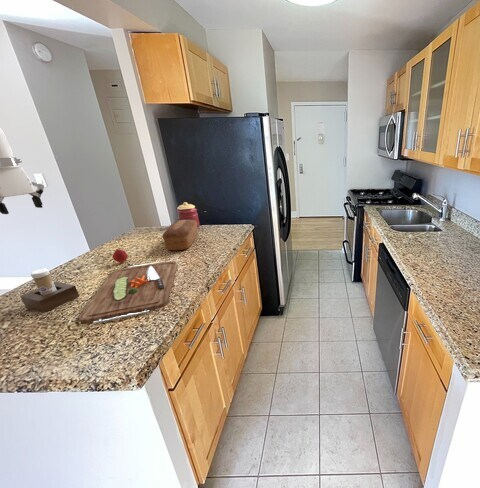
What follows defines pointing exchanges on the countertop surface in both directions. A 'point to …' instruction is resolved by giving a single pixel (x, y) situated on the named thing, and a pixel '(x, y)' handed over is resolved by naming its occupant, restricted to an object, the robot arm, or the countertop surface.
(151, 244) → the countertop surface
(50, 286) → the sprinkles bottle
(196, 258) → the countertop surface
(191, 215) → the kitchen canister
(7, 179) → the robot arm
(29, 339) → the countertop surface
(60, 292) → the spice block
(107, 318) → the chopping board
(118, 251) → the red rounded lump
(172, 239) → the bread
